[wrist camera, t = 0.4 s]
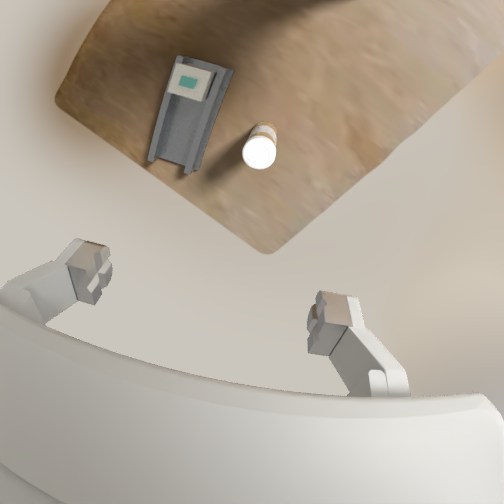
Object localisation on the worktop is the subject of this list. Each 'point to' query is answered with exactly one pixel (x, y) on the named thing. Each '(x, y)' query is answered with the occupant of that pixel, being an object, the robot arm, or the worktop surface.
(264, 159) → the sprinkles bottle
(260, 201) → the worktop surface
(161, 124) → the rail
